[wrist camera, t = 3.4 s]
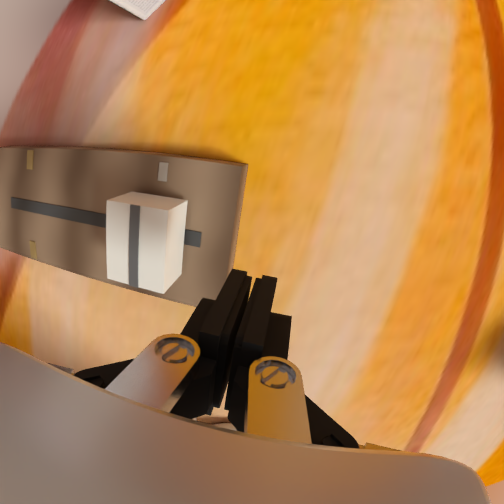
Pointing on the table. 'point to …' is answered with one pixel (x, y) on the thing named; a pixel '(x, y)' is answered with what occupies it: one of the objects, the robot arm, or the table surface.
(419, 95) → the table surface
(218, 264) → the fader board
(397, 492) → the robot arm
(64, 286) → the table surface
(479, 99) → the table surface
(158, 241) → the fader knob
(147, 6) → the syrup box
